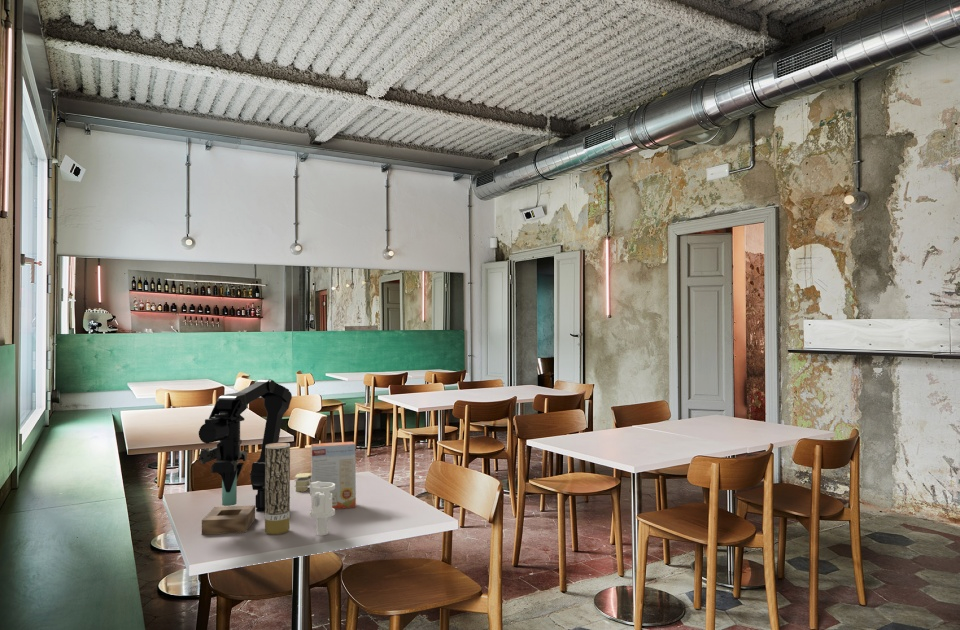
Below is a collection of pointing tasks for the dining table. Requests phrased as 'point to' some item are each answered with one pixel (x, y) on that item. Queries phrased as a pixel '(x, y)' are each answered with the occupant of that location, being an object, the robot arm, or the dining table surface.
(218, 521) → the socket block
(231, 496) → the peg
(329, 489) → the white plastic upright piece
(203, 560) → the dining table surface
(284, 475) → the paper tube
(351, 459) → the cracker box
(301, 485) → the stacked layers on plate
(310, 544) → the dining table surface
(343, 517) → the dining table surface
